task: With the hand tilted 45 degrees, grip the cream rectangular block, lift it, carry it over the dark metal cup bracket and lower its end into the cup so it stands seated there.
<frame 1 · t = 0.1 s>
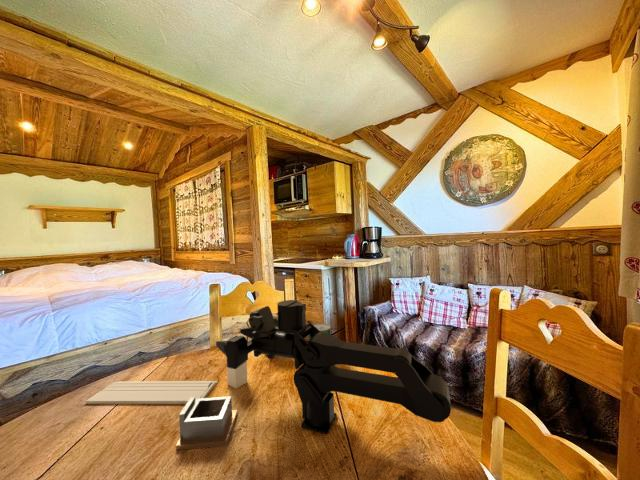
hand: (229, 336, 71), 17 cm above the table, tool horizontal, fingers open, 9 cm apart
cream rectangular block: (237, 383, 79), on the table
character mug: (272, 353, 99), on the table
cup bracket: (209, 430, 60), on the table
baseboard molding: (157, 393, 76), on the table
canned tomato: (320, 358, 94), on the table
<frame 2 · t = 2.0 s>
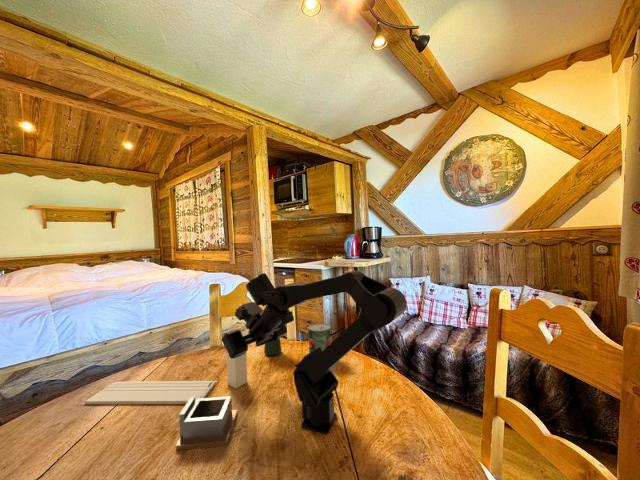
hand: (243, 350, 77), 10 cm above the table, tool tilted 45°, fingers open, 9 cm apart
nothing on the table moved.
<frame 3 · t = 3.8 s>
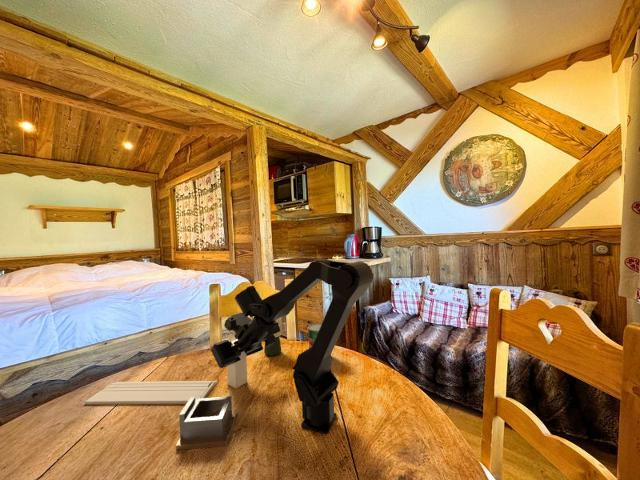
hand: (233, 359, 80), 7 cm above the table, tool tilted 45°, fingers closed on cream rectangular block, 4 cm apart
cream rectangular block: (237, 383, 79), on the table, touching gripper
everything else where it was.
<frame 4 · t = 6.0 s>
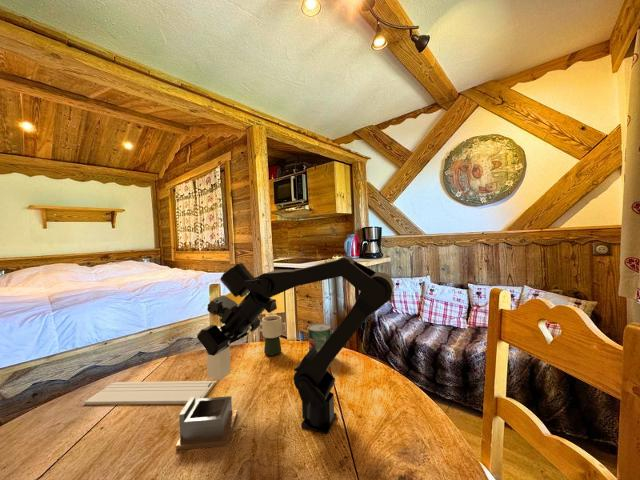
hand: (214, 349, 71), 14 cm above the table, tool tilted 45°, fingers closed on cream rectangular block, 4 cm apart
cream rectangular block: (219, 375, 70), point 7 cm above the table, touching gripper
everything else where it was.
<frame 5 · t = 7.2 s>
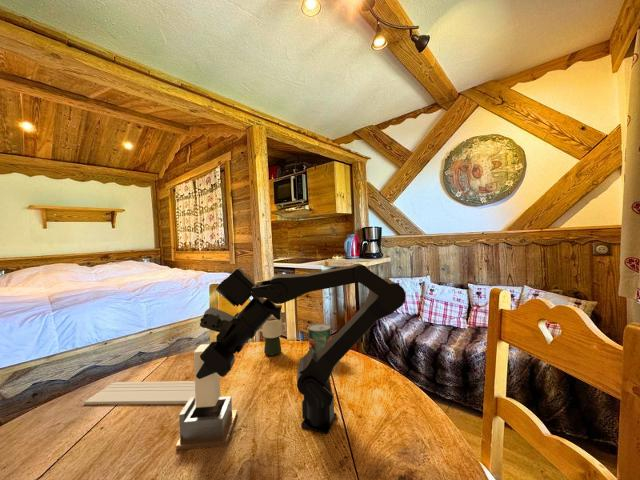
hand: (201, 372, 60), 13 cm above the table, tool tilted 45°, fingers closed on cream rectangular block, 4 cm apart
cream rectangular block: (208, 401, 60), point 7 cm above the table, touching gripper
everything else where it was.
when the fingers open (9 cm above the table, at t = 8.3 s): cream rectangular block drops 1 cm, resting on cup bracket.
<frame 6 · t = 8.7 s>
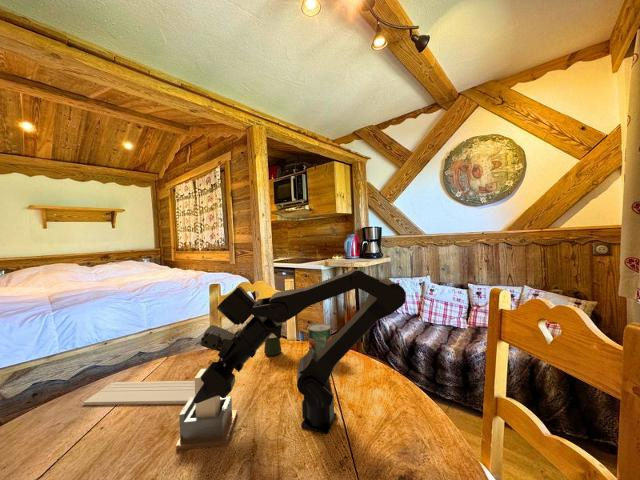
hand: (201, 390, 60), 9 cm above the table, tool tilted 45°, fingers open, 8 cm apart
cream rectangular block: (209, 426, 60), point 1 cm above the table, touching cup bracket
everything else where it was.
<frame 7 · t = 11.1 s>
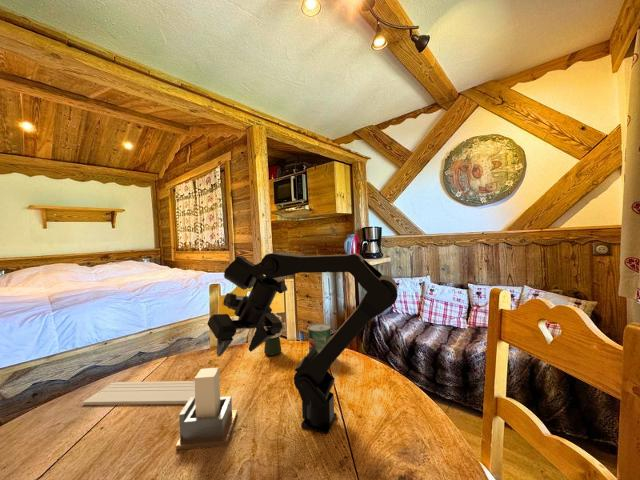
hand: (234, 352, 67), 14 cm above the table, tool tilted 30°, fingers open, 9 cm apart
nothing on the table moved.
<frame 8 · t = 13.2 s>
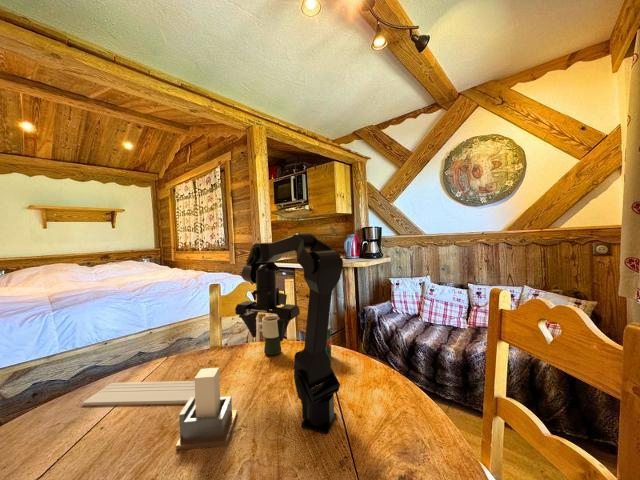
hand: (267, 339, 78), 13 cm above the table, tool pointing down, fingers open, 9 cm apart
nothing on the table moved.
at the end: cream rectangular block 0.0 cm off-centre on the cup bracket, point 1.0 cm above the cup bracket's base; cream rectangular block tilted 0°; the gripper is holding nothing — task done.
